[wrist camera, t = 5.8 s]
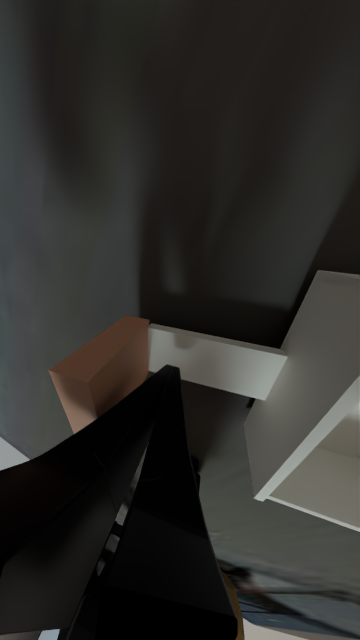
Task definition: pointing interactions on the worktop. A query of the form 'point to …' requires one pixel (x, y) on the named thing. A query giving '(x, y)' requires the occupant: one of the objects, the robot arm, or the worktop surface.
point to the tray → (254, 392)
